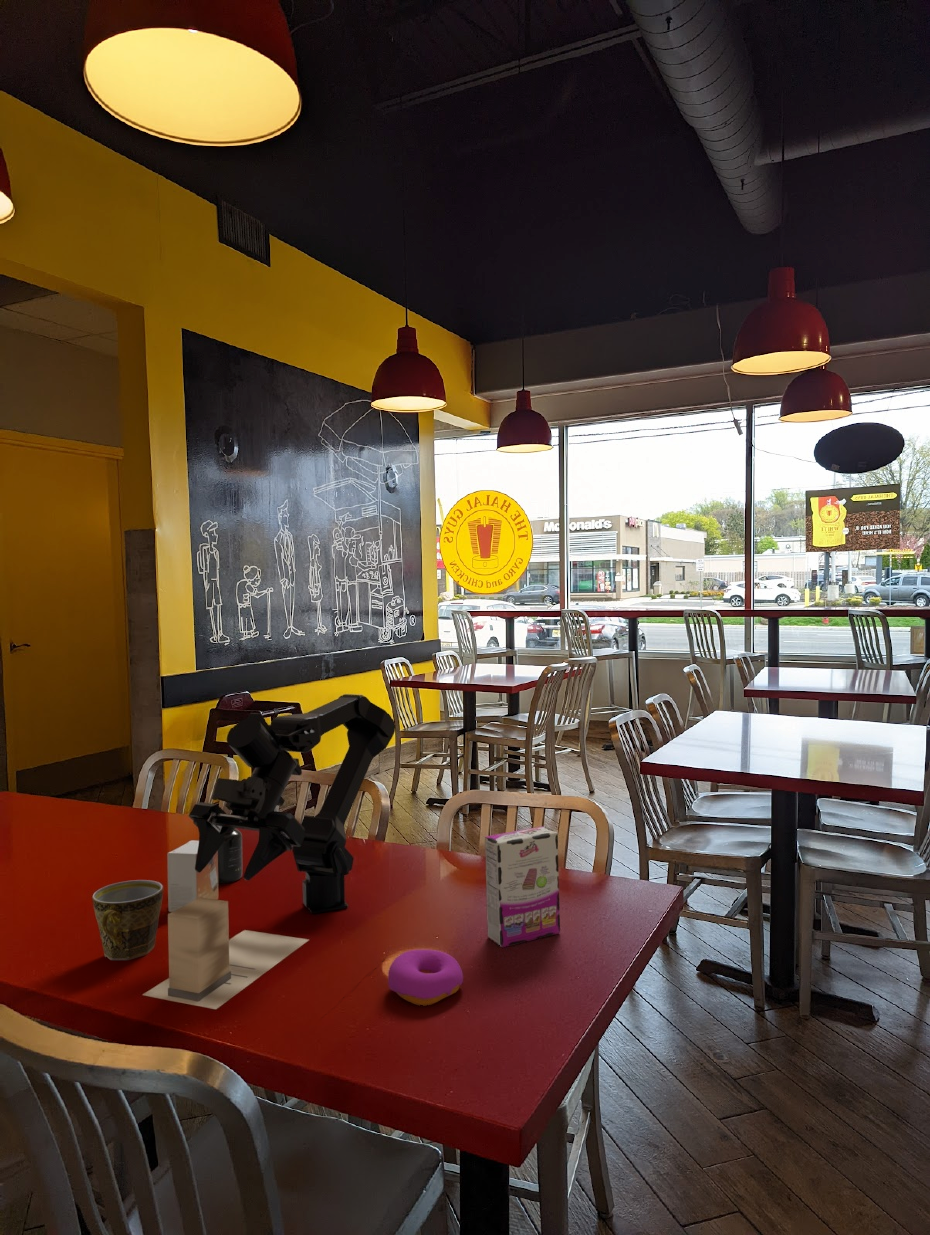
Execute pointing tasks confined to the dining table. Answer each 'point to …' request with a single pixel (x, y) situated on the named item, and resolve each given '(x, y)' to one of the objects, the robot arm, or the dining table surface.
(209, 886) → the small box
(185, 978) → the block
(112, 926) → the ceramic cup
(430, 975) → the donut
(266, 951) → the white lined paper sheet
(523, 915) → the candy bar box
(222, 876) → the supplement bottle
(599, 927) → the dining table surface
